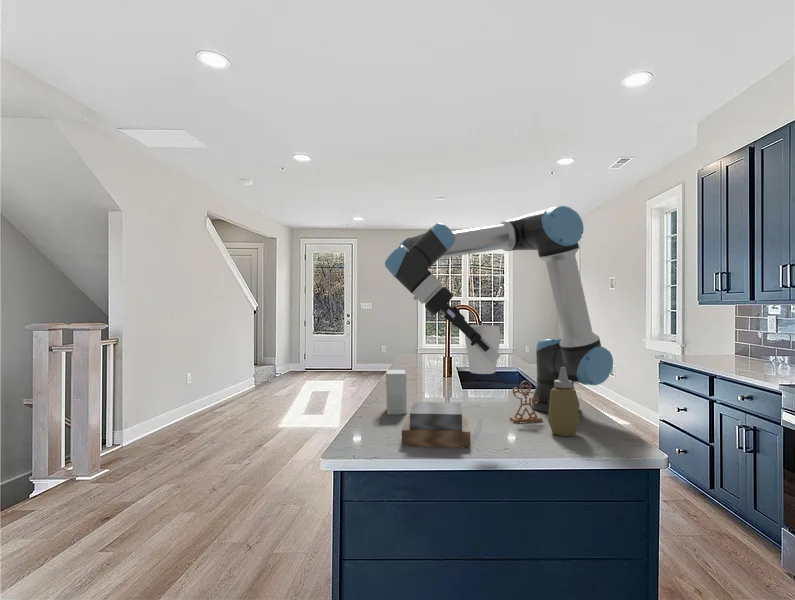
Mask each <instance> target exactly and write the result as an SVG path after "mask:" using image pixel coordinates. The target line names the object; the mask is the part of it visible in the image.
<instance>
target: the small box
mask: <svg viewBox="0 0 795 600" xmlns="http://www.w3.org/2000/svg"><path fill="white" fill-rule="evenodd" d="M385 376H386V378H385V379H386V381H385V382H386V383H385V384H386V385H385V386H386V412H387V413H386V414H387V415H407V410H408V409H407V372H406V370H405V369H389V370H388V369H386V371H385Z"/></svg>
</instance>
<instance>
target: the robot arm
mask: <svg viewBox="0 0 795 600" xmlns="http://www.w3.org/2000/svg"><path fill="white" fill-rule="evenodd" d="M583 233H584V223H583V219H582V218H581V216H580V214H579V213H578V212H577V211H576V210H575V209H572V207H569V206H565V205H557V206H550V207H548V208H545V209H542V210H538V211H534V212H531V213H528V214H525V215H522V216H519V217H517V218H513V219H509V220H503V221H501V222H500V223H499V224H497V225H490V226H488V225H487V226H482V227H475V228H470V229H469V228H468V229H462V230H461V229H459V230H455V231H452V230H451V229H450V228H449V226H447V225H445V224H444V223H442V222H438V223H435V224H434V225H433V226H432V227H430V228H429V229H428V231H427V230H426V232H424V233H420V234H418V235H415V236H412V237H407V238H406V239H404V240H402V242H401V243H400V244H399V246H398V247H397V248H396V249H394V250H392V252H391V253H390V254H389V255H388V256H387V258H386V259H385V262H384V266H385V268H386V269H387V271H388V272H389V273H390V274H391V275H392V276H393V277H394V278H395V279H396V280H397V281H398V282H399V283H400V284H401V285H403V286H404V288H406V290H408V291H409V293H410V294H412V296H413V297H412V298H413V300H414V301H416V300H418V302H420V303H421V304H423V305H424V304H425V305H424V308H425V309H427V311H428V312H429V313H430V314H431V315H433V316H436V315H437V314H438V313H439V312H440V311H442V312H443V313H444V316H443V318H444V319H445V320H447V321H448V322H450V323H451V324H452V325H453V326H454V327H455V328H458V329H459V330H460V331H461V332H462V333H463V334H464V336H465V335H466V336H467V337H468V338H469V339H470V340H471V342H472V343H471V345H472V346H473V345H475V346H476V347H477V348H478V349H479V350H480V351H481V352H482V353H483V354H484V355H485V356H486V357H487V358H488V359H489V360H490V361H491V362H492V363H494V362H495V361H496V360H497V361H498V359H499V358H501V354H500V353H499V351H498V352H497V351H496V350H495V349H494V348H493V347H492V346H491V345H490V344H489V343H488V342H487V341H486V340H485V339H484V338H483V337H481V335H480V334H479V333H477V332H476V331H475V330H474V329H473V328H472V327H471V326H470V325H471V324H469V322H467V320H466V317H465V316H464V315H463V314H462V313H461V312H460V310H459V309H458V308H457V307H456V306H455V305H454V306H451V305H450V304H449V302H450V301H451V300H452V299H453V297H454V294H453V293H452V292H451V291H450V290H449V289H448V288H447V287H446V286H442V285H443V283H442V281H440V279H438V278H437V277H436V276H435V275H434V274H433V273H432V272H431V271H430V270H429V269H430V268H431V267H432V266H433V265H434V264H435V263H436V262H437V261H438V260H439V259H446V258H452V257H458V256H466V255H472V254H478V253H484V252H491V251H499V250H503V251H504V252H511V251H537V254H538V257H539V259H540V260H543V261H544V262H545V264H546V269H547V272H548V278H549V281H550V282H549V283H550V286H551V291H552V295H553V296H552V297H553V299H554V305H555V308H556V313H557V317H558V320H559V321H558V322H559V326H560V329H561V334H562V338H551V339H541V340H539V341H537V343H536V350H535V353H536V387H535V389H534V391H533V393H535V394H536V395H537V396H538V398H539V402H538V403H536V404H535V403H533V402H532V401H531V406H532V408H533V410H534V411H539V412H543V413H549V403H550V393H551V389H553V388H554V387H555V386H554V381H555V380H558V378H559V374H560V369H561V367H566V372H567V376H568V380H571V381H572V388H573V389H574V390H575V391H576V389H575V385H574V382H575V383H578V384H579V383H580V384H581V385H585V386H588V385H589V386H598V385H601V384H603V383H604V382H606V380H608V378H609V377H610V374H611V373H612V370H613V367H614V358H613V355H612V353H611V352H610V351H609V350H608V349H607V348H606V347H603V346H602V343H601V339H600V336H599V335H597V334H596V333H594V332H593V329H592V324H591V320H590V319H591V318H590V316H589V310H588V305H587V302H586V296H585V292H584V288H583V283H582V279H581V275H580V271H579V266H578V261H577V257H576V255H577V253H578V251H579V249H580V245H579V242H580V241H581V239H582V238H583ZM535 394H533V396H532V398H533V399H534V398H537V397H536V395H535ZM576 395H577V393H576ZM534 402H537V400H534ZM577 404H578V412H579V411H580V401H579V397H578V395H577Z"/></svg>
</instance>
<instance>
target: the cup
mask: <svg viewBox="0 0 795 600" xmlns="http://www.w3.org/2000/svg"><path fill="white" fill-rule="evenodd" d="M469 325H470V326H471V327H472V328H473V329H474V330H475V331H476V332H477V333H479V334H480V335H481V337H483V338H484V339H485V340H486V341H487V342H488V343H489V344H490V345H491V346H492V347H493V348H494V349H495V350H496V351H497V352H498V353H499V350H500V343H501V333H500V332H501V331H500V326H499V325H493V324H492V325H491V324H469ZM464 340H465V341H464V342H465V347H466V348H465V349H466V354H467V363H468V370H469V372H470V373H471V374H477V375H491V374H495V373H496V371H497V365H498V364H497V363H498V359H497V360H496V361H495V362H494V363H492V362H491V361H490V360H489V359H488V358H487V357H486V356H485V355H484V354H483V353H482V352H481V351H480V350H479V349H478V348H477V347H476V346H475V345H473V346H472V345H471V343H472V342H471V340H470V339H469V338H468V337H467V336H466V335H465V334H464Z"/></svg>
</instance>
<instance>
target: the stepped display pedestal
mask: <svg viewBox="0 0 795 600" xmlns="http://www.w3.org/2000/svg"><path fill="white" fill-rule="evenodd" d="M462 411H463V410H462V403H461V402H427V401H426V402H423V401H422V402H419V401H416V402H415V401H414V402H413V403H412V407H411V409H410V412H409V415H406V418H405V421H404V423H403V426H402V427H401V446H402V447H416V446H426V448H431V447H432V448H455V447H470V448H471V427H470V420H469V416H463V412H462Z"/></svg>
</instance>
